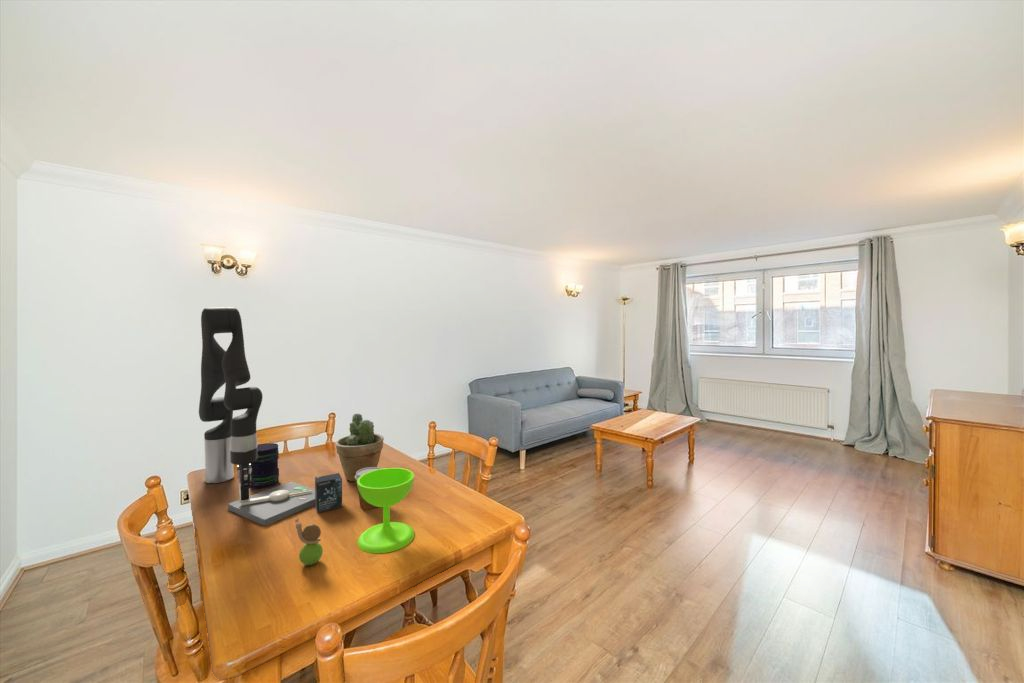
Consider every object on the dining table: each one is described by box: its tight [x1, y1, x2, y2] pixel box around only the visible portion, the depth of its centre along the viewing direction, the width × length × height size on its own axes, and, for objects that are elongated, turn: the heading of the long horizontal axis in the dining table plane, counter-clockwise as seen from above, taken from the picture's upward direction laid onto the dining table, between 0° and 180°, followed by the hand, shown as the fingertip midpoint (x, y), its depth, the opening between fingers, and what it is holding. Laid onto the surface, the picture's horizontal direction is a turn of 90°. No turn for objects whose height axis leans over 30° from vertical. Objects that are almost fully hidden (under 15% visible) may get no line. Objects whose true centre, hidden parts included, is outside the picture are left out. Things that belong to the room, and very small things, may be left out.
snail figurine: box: [295, 517, 324, 566], centre depth 102 cm, size 5×6×12 cm
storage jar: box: [249, 442, 280, 491], centre depth 153 cm, size 10×10×15 cm
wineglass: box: [356, 467, 415, 554], centre depth 115 cm, size 16×16×18 cm
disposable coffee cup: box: [355, 466, 383, 510], centre depth 136 cm, size 10×10×12 cm
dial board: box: [227, 481, 315, 527], centre depth 137 cm, size 22×22×2 cm
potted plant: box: [335, 413, 385, 483], centre depth 161 cm, size 18×19×25 cm
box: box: [314, 472, 343, 514], centre depth 134 cm, size 8×6×11 cm
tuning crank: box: [238, 482, 312, 506], centre depth 136 cm, size 22×6×8 cm, turn 119°
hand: (244, 497), depth 132 cm, fingers closed on tuning crank, 3 cm apart
